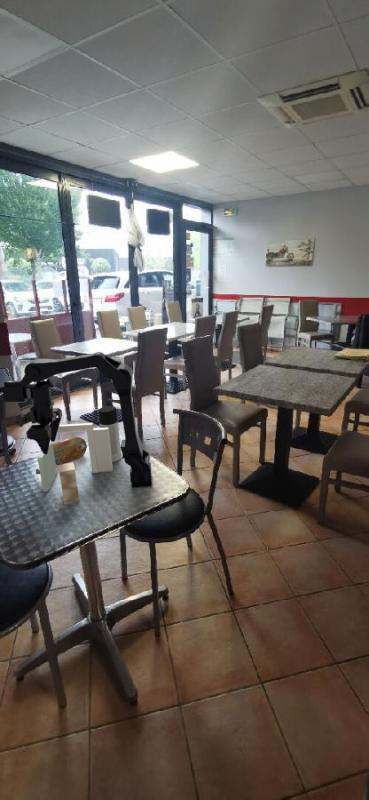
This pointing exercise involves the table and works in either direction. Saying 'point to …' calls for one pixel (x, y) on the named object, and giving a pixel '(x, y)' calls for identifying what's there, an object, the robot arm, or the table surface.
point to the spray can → (111, 429)
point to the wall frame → (94, 445)
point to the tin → (69, 450)
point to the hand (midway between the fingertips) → (49, 447)
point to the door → (47, 468)
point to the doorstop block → (68, 483)
